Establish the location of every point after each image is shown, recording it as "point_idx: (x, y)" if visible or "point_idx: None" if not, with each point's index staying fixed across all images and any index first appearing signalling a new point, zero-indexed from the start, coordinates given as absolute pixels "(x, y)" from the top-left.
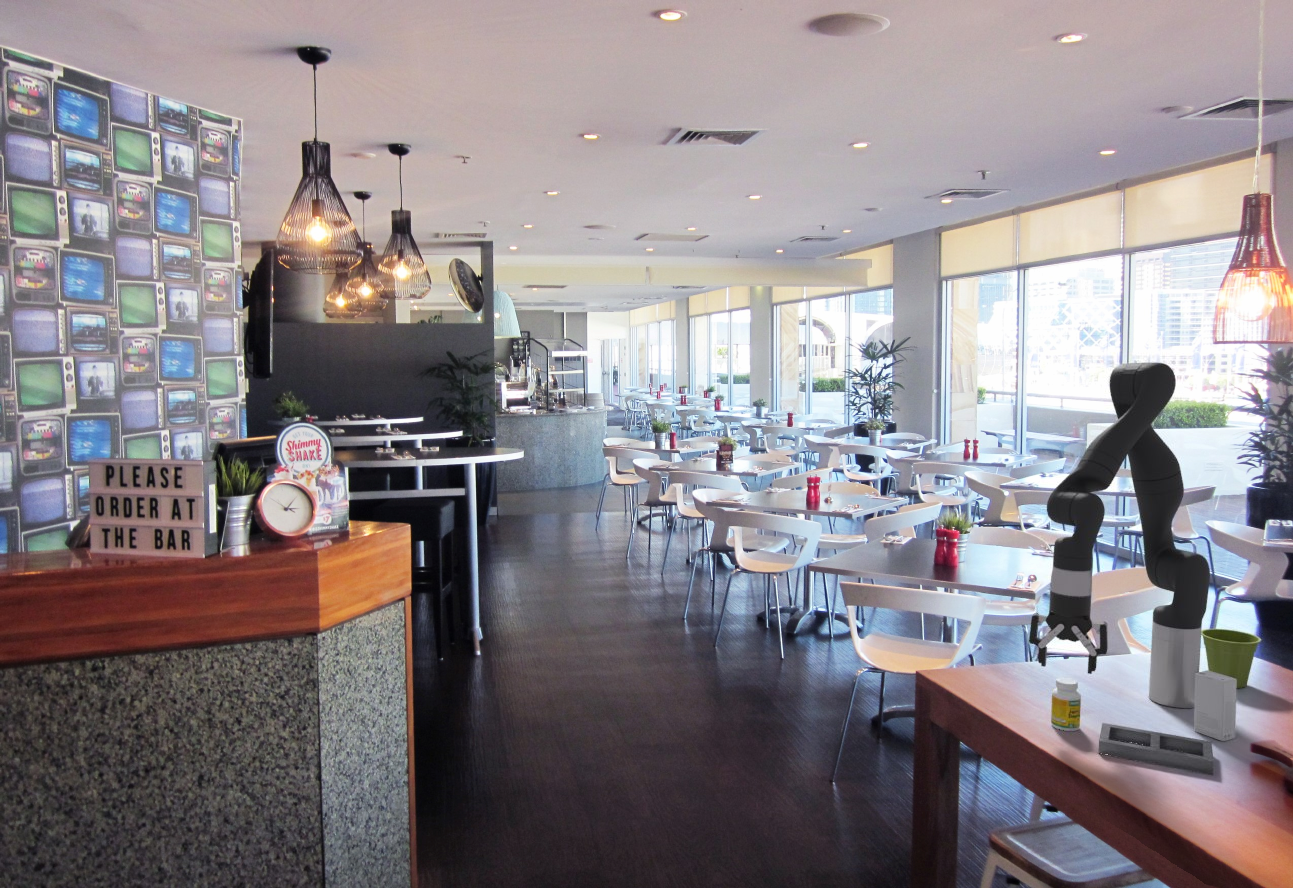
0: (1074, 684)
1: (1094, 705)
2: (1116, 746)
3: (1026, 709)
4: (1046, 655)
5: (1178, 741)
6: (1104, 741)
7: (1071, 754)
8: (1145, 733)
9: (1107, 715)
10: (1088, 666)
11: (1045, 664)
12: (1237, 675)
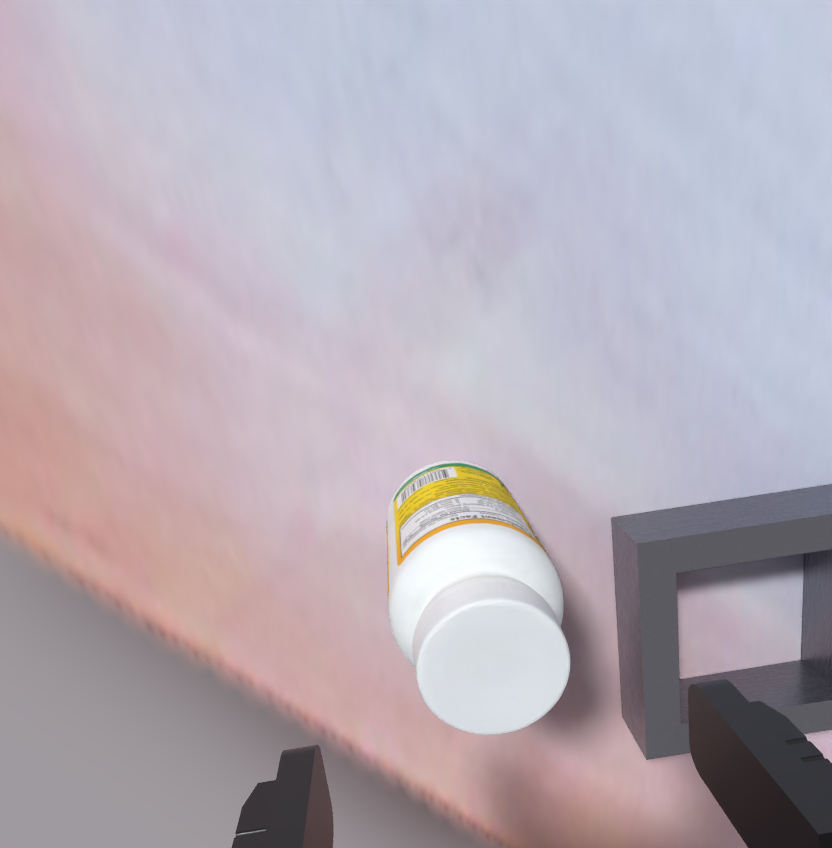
0: (555, 702)
1: (519, 88)
2: None
3: (224, 404)
4: (309, 825)
5: None
6: (667, 752)
7: (534, 781)
8: (826, 548)
9: (604, 223)
10: (736, 824)
11: (325, 792)
12: None
